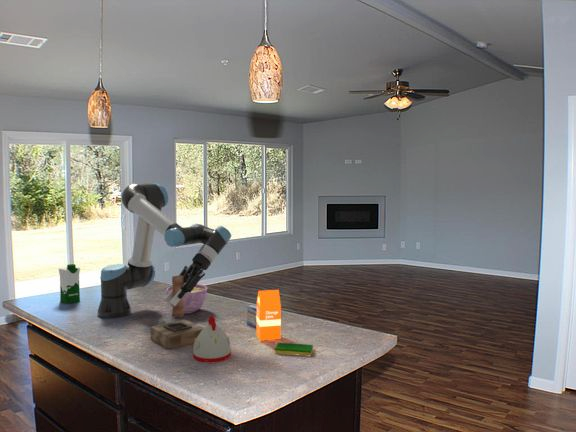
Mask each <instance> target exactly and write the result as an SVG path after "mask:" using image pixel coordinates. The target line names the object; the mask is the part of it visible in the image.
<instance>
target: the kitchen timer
mask: <svg viewBox="0 0 576 432" xmlns="http://www.w3.org/2000/svg"><path fill="white" fill-rule="evenodd" d="M207 322H208V325H206V326H205V327H203V330H202V331H201V332H200V334H199V335H198V337H197V338H195V342H194V343H193V352H192V356H193V359H194V360H195V361H197V362H199V363H205V364H206V363H207V364H209V363H210V364H211V363H212V362H215V363H220V361H221V362H224V361H226V360H228V359H230V357H231V355H232V348H231V341H230V336H227V334H226V332H225V331H224V330H223V329H222V327H220V326H219V325H217V323H216V319H215V317H214V316H213V315H209V319H208V321H207Z"/></svg>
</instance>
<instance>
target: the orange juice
mask: <svg viewBox="0 0 576 432" xmlns="http://www.w3.org/2000/svg"><path fill="white" fill-rule="evenodd" d="M256 305H257V320H256V321H257V328H256V337H257V338H259V339H258V340H259V341H260V342H264V340H268V341H276V340H275V339H281V338H282V337H281V334H282V333H281V329H282V328H281V327H282V326H281V325H282V317H281V316H282V314H281V313H282V312H281V311H282V305H281V297H280V289H268V290H258V293H257V298H256Z"/></svg>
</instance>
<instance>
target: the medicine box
mask: <svg viewBox="0 0 576 432" xmlns="http://www.w3.org/2000/svg"><path fill="white" fill-rule="evenodd" d="M256 320H257V304H250V305H247V306H246V325H247V326H250V327H253V328H256V329H257V321H256Z"/></svg>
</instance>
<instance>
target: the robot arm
mask: <svg viewBox="0 0 576 432" xmlns="http://www.w3.org/2000/svg"><path fill="white" fill-rule="evenodd" d="M121 202H122V205H123V206H124V207H125V209H127V210H128V211H129V212H130V213H131V214H136V215H138V217H137V224H136V231H135V237H134V241H133V242H134V243H133V250H132V254H131V255H132V256H131V257H130V258H128V261H127V265H126V264H124V263H116V264H115V263H114V264H110V265H107V266H104V267H103V268H101V271H100V292H101V294H100V296H101V297H100V302H99V305H98V309H97V316H98V317H100V318H105V319H110V318H121V317H125V316H128V315H130V314H131V313H132V307H131V305H130V301H129V300H128V293H127V292H128V290H133V289H138V288H144V287H146V286H149V285H151V284H152V283H153V282H154V280H155V276H156V270H155V266H154V264H153V262H152V261H151V259H150V258H151V253H152V248H153V247H152V246H153V242H154V236H155V235H154V234H155V231H157V232H159V234H161V235H163V236H164V237H163V239H164V242H165V244H166V245H167V246H168V247H171V248H172V247H181V246H189V245H197V244H203V245H202V246H201V247H200V249H199V250H198V251H197V253H196V254H194V256H193V258H192V259H191V260H192V263H191V264H190V265H189V266H187V265H185V266H183V269H182V271H181V272H180V273H179V275H178V276H183V285H184V286H183V287H181V289H182V290H181V289H180V290H179V291H178V292H177V294H176V295H175V296H174V297H173V299H172V290H171V291H170V292H169V294H168V295H167V294H166V296H165V297H164V299H163V300H164V301H165V303H167V304H168V305H170V303H172V304H173V305H174V306H176V305H177V303H178V302H179V301H180V299H181V298H182V297H183V296H184V294H185V293H187V292H189V293H190V292H191V291H192V290H193V288H194V287H195V286H196V284H198V283H199V282H200V281H201V280H202V279H203V277H204V276H205V275H206V273H205V272H204V271H206V270H208V269H209V267H210V266H211V264H212V263H213V262H214V261H215V260H216V258H217V257H218V256H219V254H220V253H221V252H222V250H223V249H224V248H225V247H226V245H228V243H229V241H230V240H231V238H232V233H231V232H230V231H229V230H228V229H227V228H226V227H225V226H224V225H223V226H222V225H218V226H217V227H216V228H215V229H214V228H210V227H208V226H206V225H204V224H199V223H192V225H190V226H186V227H184V226H181V225H180V224H178V223H177V222H176V221H174V220H173V219H172V218H170V217H169V216H168V215H166V213H164V212H163V211H162V208H164V207H166V206H167V205H168V203H169V193H168V191H167V189H166V188H165V186H164V185H162V184H159V183H154V182H153V183H132V184H130V185H127V186H126V187H125V188H124V190H123V191H122V193H121Z"/></svg>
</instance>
